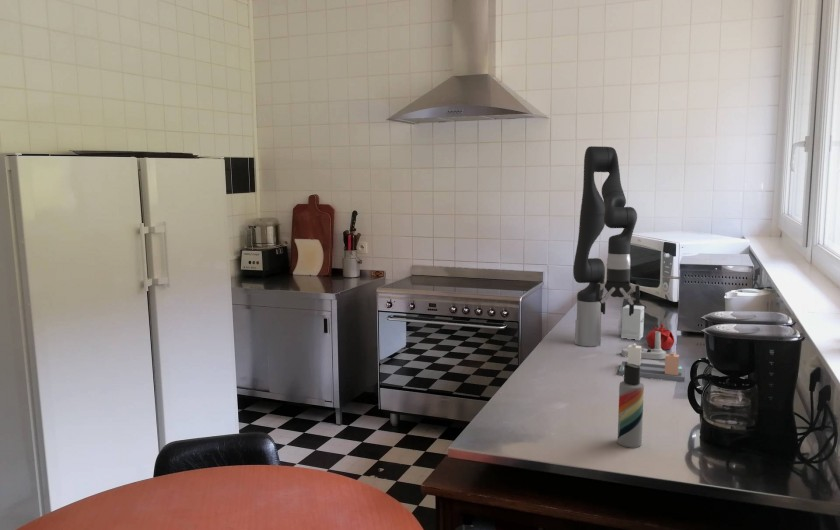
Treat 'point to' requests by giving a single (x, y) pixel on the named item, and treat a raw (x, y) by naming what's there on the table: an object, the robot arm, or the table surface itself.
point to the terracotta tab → (671, 364)
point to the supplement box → (632, 323)
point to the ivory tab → (634, 354)
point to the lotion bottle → (630, 408)
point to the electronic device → (650, 350)
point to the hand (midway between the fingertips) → (616, 314)
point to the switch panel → (656, 372)
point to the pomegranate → (661, 338)
